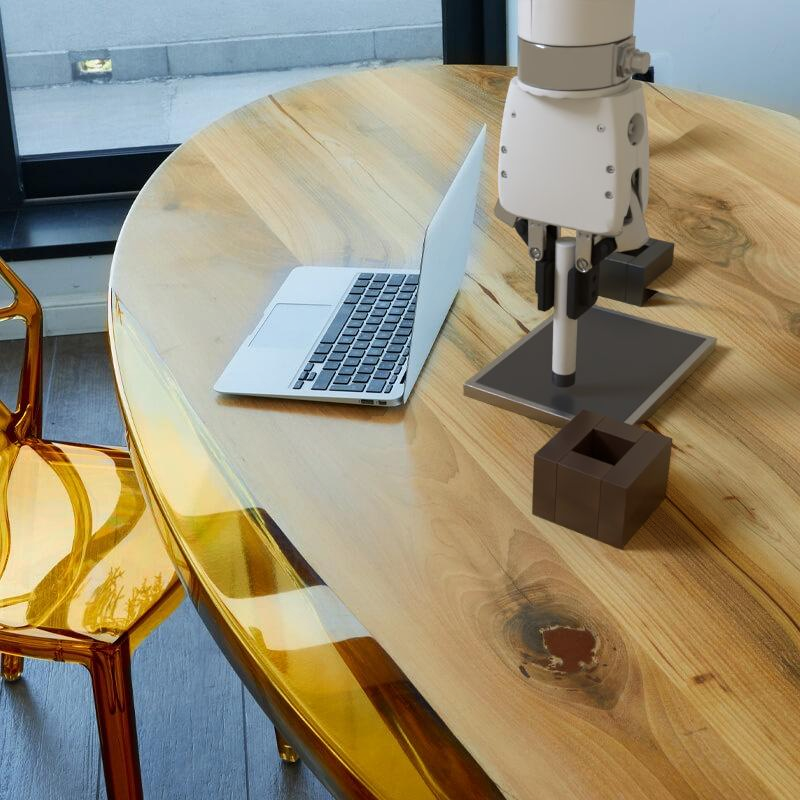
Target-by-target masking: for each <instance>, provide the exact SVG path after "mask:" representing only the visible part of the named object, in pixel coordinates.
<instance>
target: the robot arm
mask: <svg viewBox="0 0 800 800" xmlns="http://www.w3.org/2000/svg"><path fill="white" fill-rule="evenodd" d="M635 10H636V0H517V64H516V65H517V68H516V69H517V74H516V75H515V76H513V77H512V78H511V79H510V82H509V85H508V89H507V93H506V99H505V103H504V108H503V113H502V120H501V127H500V136H499V137H500V138H499V147H498V162H497V164H498V167H497V188H498V190H497V191H498V198H497V200H496V203H495V206H494V208H493V214H494V216H495V218H497V219H498V220H500V221H501V222H503V223H504V224H506V225H507V226H509V227H511V228H514V229H515V231H516V233H517V234H518V236H519V237H520V238H521V240H522V241H523V242H524V244H525V245H526V246H527V248H528V251H527V252H528V256H529V258H530V259H531V260H532V261H534V262H535V265H534V267H535V269H534V291H535V294H537V310H538V311H540V312H547V311H550V310H551V309H552V308H554V282H555V244H556V240H557V239H558V238H560V237H562V228H564V229H568V230H572V231H576V232H575V237H576V250H575V266H574V267H573V268H571V269H570V270H569V271H568V276H567V307H566V315H567V316H568V318H569V319H573V320H576V319H578V318H579V317H580V316H581V315H582V314H584V313H585V312H586V311H587V310H589V309H590V308H591V307H592V306H593V305H596V303H597V302H598V298H599V295H598V291H599V271H600V262H601V261H602V260H603V259H605V258H606V257H607V256H609V255H610V254H611V253H614V252H623V251H629V250H635V249H639V248H640V247H641V246H643V245H644V244H645V243H646V242H647V241H648V240H649V238H650V234H649V231H648V227H647V225H646V221H645V217H644V214H645V213H646V212H647V209H648V205H649V196H650V195H649V194H650V139H649V137H650V136H649V135H650V134H649V122H648V113H647V106H646V98H645V92H644V87H643V83H642V82H641V81H640V80H636V79H633V78H631V77H633V76H634V75H635V74H642V75H644V74H647V73H648V72H649V71H648V70H649V69H650V66H651V60H652V59H651V54H650V52H649V51H641V50H640V49H639V48H636V38H637V37H636V35H634V27H635Z"/></svg>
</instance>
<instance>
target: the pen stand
mask: <svg viewBox="0 0 800 800" xmlns="http://www.w3.org/2000/svg"><path fill="white" fill-rule="evenodd" d="M673 440H674V439H673V437H670V436H667V435H664V434H661V433H658V432H654V431H652V430H648V429H646V428H642V427H640V428H639V427H636V426H633V425H630V424H627V423H624V422H621V421H618V420H615V419H612V418H609V417H605V416H603V415H600V414H597V413H594V412H591V411H588V410H585V409H582V410H581V411H580V412H579V413H578V414H577V415H576V416H575V417H574V418H573V419H572V420H571V421H570V422H569V423H567V424H566V425H565V426H564V427H563V428H562V429H561V428H560V430H558V431H557V432H556V433H555V434H554V435H553V436H552V437H551V438H550V439H549V440H548V441H547V442H545V444H544V445H542V446H541V448H539V449H538V450H537V451H536V452H535V453H534V454H533V470H532V497H531V498H532V502H531V507H532V508H531V514H532V515H534V516H536V517H538V518H541V519H544V520H545V521H548V522H551V523H554V524H556V525H558V526H561V527H563V528H566V529H569V530H571V531H573V532H576V533H578V534H581V535H584V536H586V537H589V538H590V539H594V540H597V541H599V542H601V543H603V544H607V545H609V546H611V547H614V548H617V549H619V550H623V548H625V546H626V545H627V544H628V543H629V542H630V540H631V539H632V538H633V537H634V536H635V534H636V533H637V532H638V531H639V529H640V528H641V527H642V526H643V525H644V524H645V523H646V522H647V520H648V519H649V518H650V517H651V516H652V514H653V513H654V512H655V511H656V510H657V509H658V508H659V506H660V505H661V504H662V503H663V502H664V500H665V499H666V498H667V493H668V492H667V491H668V481H669V474H670V465H671V457H672V448H673Z"/></svg>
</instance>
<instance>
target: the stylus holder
mask: <svg viewBox="0 0 800 800" xmlns="http://www.w3.org/2000/svg"><path fill="white" fill-rule="evenodd" d="M674 251H675V243H674V242H670V241H666V240H662V239H657V238H653V237H649V240H648V241H647V242H646V243H645V244H644V245H643V246H641V247H640V248H639V249H635V250H629V251H623V252H614V253H611V254H610V255H609V256H607V257H606V258H605V259H603V260H602V261H601V262H600V271H599V291H598V297H603V298H607V299H611V300H615V301H618V302H623V303H626V304H630V305H632V306H633V305H634V306H637V307H643V306H644V305H645V304H646V303H648V301H650V300H651V299H652V298H653V297H654V296H655V295H657V294H658V293H659V292H660V290H657V289H652V288H649V286H650V285H651V284H652V283H653V282H654V281H656V280H657V279H658V278H659V277H660V276H662V275H663V274H664V273H665V272H666V271H668V269H670V268H671V267H672V266H673V262H674V253H675V252H674Z"/></svg>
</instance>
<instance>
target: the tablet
mask: <svg viewBox="0 0 800 800" xmlns="http://www.w3.org/2000/svg"><path fill="white" fill-rule="evenodd" d="M553 321H554V312H553V313H552V314H551V315H549V316H548V317H547V318H546V319H544V320H543V321H542V322H541V323H539V324H538V325H537V326H535V327H534V328H533V329H532V330H529V332H528V333H526V334H525V335H524V336H522V337H521V338H520V339H518V340H517V341H516V342H515V343H514V344H512V345H511V346H510V347H509V348H507V349H506V350H505V351H503V352H502V353H500V355H498V356H497V357H496V358H495V359H493V360H492V361H491V362H489V363H488V364H486V365H485V366H484V367H483V368H481V370H478V372H476V373H475V374H474V375H473V376H471V377H470V378H468V380H466V381H465V382H464V383H463V390H462V391H463V392H462V393H463V396H465V397H468V398H471V399H474V400H477V401H480V402H483V403H486V404H488V405H492V406H494V407H497V408H499V409H503V410H506V411H508V412H511V413H515V414H517V415H520V416H523V417H526V418H529V419H532V420H536V421H538V422H540V423H543V424H547V425H549V426H552V427H555V428H558V429H560V430H561V429H562V428H563V427H564V426H565V425H566V424H567V423H569V422H570V421H571V420H572V419H573V418H574V417H575V416H576V415H577V414H578V413H579V412H580V411H581V410H582V409H585V410H588V411H591V412H594V413H597V414H600V415H603V416H605V417H609V418H612V419H615V420H618V421H621V422H624V423H627V424H630V425H633V426H636V427H639V428H642V426H643V425H644V424H646V422H647V421H648V420H649V419H650V418H651V417H652V415H653V414H655V413H656V412H657V410H658V409H659V408H660V407H661V406H662V405H663V404H665V402H667V400H668V399H669V398H670V397H671V396H672V395H673V394H674V393H675V392H676V391H677V390H678V389H679V388H680V387H681V386H682V385H683V383H684V382H686V380H688V379H689V378H690V376H691V375H693V373H694V372H695V371H697V369H698V368H699V367H700V366H701V365H702V364H703V363H704V362H705V361H706V360H707V359H708V358H709V357H710V356H711V355H712V354H713V352H715V351H716V349H717V344H718V343H717V342H718V338H717V337H715V336H711V335H707V334H703V333H701V332H696V331H692V330H688V329H685V328H681V327H678V326H674V325H670V324H667V323H663V322H659V321H655V320H652V319H649V318H643V317H641V316H638V315H634V314H630V313H626V312H622V311H619V310H614V309H610V308H607V307H603V306H600V305H596V304H594V305H593V306H592V307H591V308H590V309H589V310H587V311H586V312H585V313H584V314H582V315H581V316H580V317H579V318H578V319H577V343H576V375H575V383H574V385H572V386H570V387H565V388H563V387H557V386H555V385H554V384H553V383H552V359H553Z"/></svg>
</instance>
